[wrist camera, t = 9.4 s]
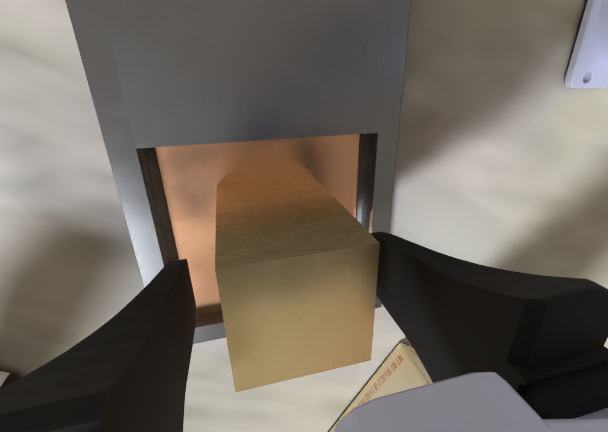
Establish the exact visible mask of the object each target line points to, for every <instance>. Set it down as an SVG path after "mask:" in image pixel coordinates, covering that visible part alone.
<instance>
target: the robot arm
mask: <svg viewBox="0 0 608 432" xmlns="http://www.w3.org/2000/svg"><path fill="white" fill-rule="evenodd" d="M565 85H566V87H567V88H573V89H577V88H603V87H608V0H588V1H587V5H586V8H585V12H584V15H583V19H582V22H581V26H580V29H579V33H578V36H577V40H576V43H575V47H574V50H573V53H572V57H571V60H570V64H569V67H568V71H567V74H566V78H565ZM370 234H371V235H372V236H373V237H374V238H375V239H376V240H377V241H378V242H379V243H380V250H379V263H378V275H377V287H376V296H377V297H378V298H379V300H380V301H381V303H382V304H383V306H384V307H385V308H386V310H387V311H388V312H389V314H390V315H391V317H392V318H393V319H394V321H395V322H396V323H397V325H398V326H399V327H400V329H401V330H402V332H403V333H404V334H405V336H406V337H407V339H408V340H409V342H410V343H411V345H412V346H413V348H414V350H415V352H416V353H417V355H418V357H419V359H420V360H421V362H422V364H423V366H424V367H425V369H426V371H427V373H428V375H429V377H430V379H431V380H432V382H433V383H431V384H427V385H424V386H420V387H416V388H412V389H408V390H405V391H401V392H397V393H393V394H389V395H385V396H382V397H378V398H375V399H372V400H370V401H368V402H366V403H364V404H361V405H359V406H357V407H355V408H353V409H352V410H351V411H350V412H349V413H348V414H347V415H345V416H344V417H343V418H342V419H341V420H340V421H339V422H338V423H337V424H336V426H335V428H334V430H333V432H608V349H607V348H606V347H604V344H605V342H606V340H607V338H608V289H606V288H604V287H603V286H601V285H599V284H597V283H595V282H593V281H591V280H588V279H579V278H565V277H552V276H542V275H534V274H526V273H520V272H513V271H507V270H502V269H497V268H492V267H487V266H483V265H479V264H475V263H471V262H468V261H464V260H460V259H457V258H454V257H451V256H448V255H445V254H442V253H439V252H436V251H433V250H431V249H428V248H425V247H423V246H420V245H418V244H415V243H413V242H410V241H408V240H405V239H403V238H400V237H397V236H395V235H392V234H389V233H386V232H382V231H381V232H374V233H370ZM195 321H196V302H195V297H194V292H193V287H192V282H191V277H190V272H189V267H188V262H187V259H180V260H173V261H169V262H168V263H167V264H166V265H165V266H164V267H163V268H162V269H161V271H160V272H159V273H158V274H157V275H156V276H155V277H154V278H153V279H152V280H151V282H150V283H149V284H148V285H147V286H146V287H145V288H144V289H143V290H142V291H141V292H140V293H139V294H138V295H137V296H136V297H135V298H134V299H133V300H132V301H131V302H130V303H128V304H127V305H126V306H125V307H124V308H123V309H122V310H121V311H120V312H119V313H118V314H116V315H115V316H114V317H113V318H112V319H110V320H109V321H108V322H107V323H105V324H104V325H103V326H101V327H100V328H99V329H98V330H96V331H95V332H94V333H92V334H91V335H89V336H88V337H86V338H85V339H84V340H82V341H81V342H79V343H78V344H76V345H75V346H73V347H72V348H70V349H69V350H67V351H66V352H64V353H63V354H61V355H60V356H58V357H56V358H55V359H53V360H52V361H50V362H48V363H47V364H45V365H43V366H41V367H40V368H38V369H36V370H34V371H33V372H31V373H29V374H28V375H26V376H24V377H22V378H20V379H18V380H17V381H15V382H13V383H11V384H9V385H7V386H5V387H3V388H1V389H0V432H183V419H184V402H185V391H186V382H187V376H188V370H189V364H190V358H191V352H192V346H193V339H194V333H195Z"/></svg>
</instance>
